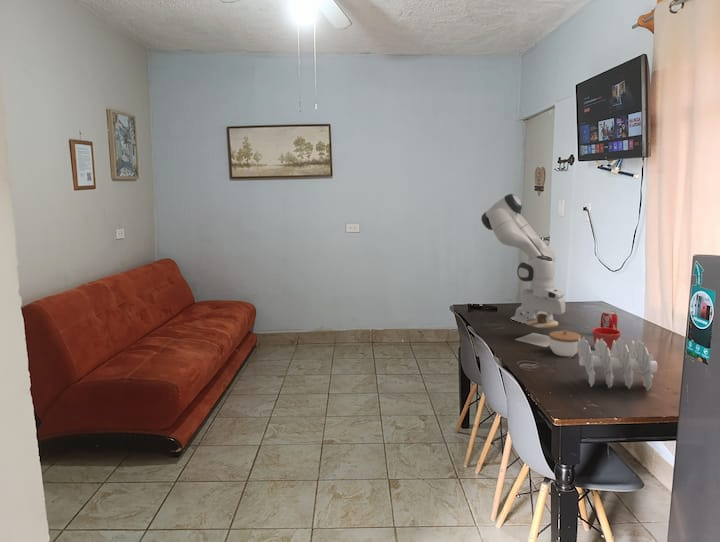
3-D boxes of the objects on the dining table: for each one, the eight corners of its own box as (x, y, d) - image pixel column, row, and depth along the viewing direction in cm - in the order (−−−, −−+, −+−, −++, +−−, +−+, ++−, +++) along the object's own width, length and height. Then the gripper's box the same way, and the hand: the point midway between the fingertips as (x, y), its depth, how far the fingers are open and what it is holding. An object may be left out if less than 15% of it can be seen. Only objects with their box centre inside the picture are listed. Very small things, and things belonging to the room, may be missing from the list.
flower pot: (608, 358, 213) (609, 335, 212) (586, 351, 223) (587, 329, 222) (625, 353, 218) (626, 331, 217) (602, 347, 228) (603, 326, 226)
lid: (520, 324, 237) (520, 314, 237) (536, 318, 247) (536, 309, 246) (548, 329, 227) (549, 320, 226) (563, 323, 236) (564, 314, 235)
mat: (514, 341, 240) (514, 339, 239) (533, 334, 249) (533, 332, 249) (545, 349, 227) (545, 347, 227) (564, 341, 237) (564, 339, 237)
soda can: (618, 339, 239) (619, 314, 237) (602, 338, 241) (603, 313, 239) (614, 334, 246) (615, 310, 244) (598, 334, 247) (599, 310, 245)
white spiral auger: (655, 403, 178) (579, 395, 183) (643, 367, 192) (572, 360, 197) (670, 366, 168) (588, 359, 173) (656, 330, 182) (581, 325, 187)
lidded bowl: (584, 354, 219) (585, 329, 217) (573, 362, 210) (574, 336, 208) (555, 349, 227) (556, 325, 225) (543, 356, 218) (544, 331, 216)
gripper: (519, 289, 240) (518, 317, 242) (560, 295, 225) (559, 325, 227) (526, 287, 244) (525, 315, 246) (567, 293, 229) (566, 323, 231)
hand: (542, 320), depth 237 cm, fingers closed on lid, 3 cm apart
